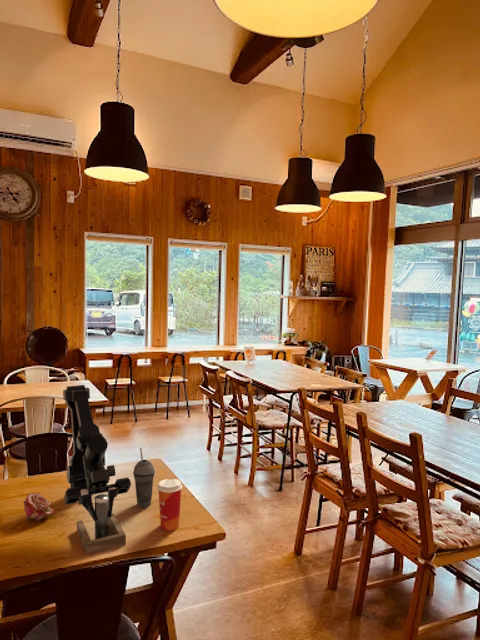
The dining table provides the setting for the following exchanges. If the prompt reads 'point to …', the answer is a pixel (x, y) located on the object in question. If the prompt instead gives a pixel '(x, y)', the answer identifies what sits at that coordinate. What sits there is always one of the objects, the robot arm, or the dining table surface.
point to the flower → (37, 506)
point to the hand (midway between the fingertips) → (102, 518)
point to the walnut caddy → (105, 542)
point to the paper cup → (169, 503)
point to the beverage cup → (143, 482)
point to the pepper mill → (102, 516)
